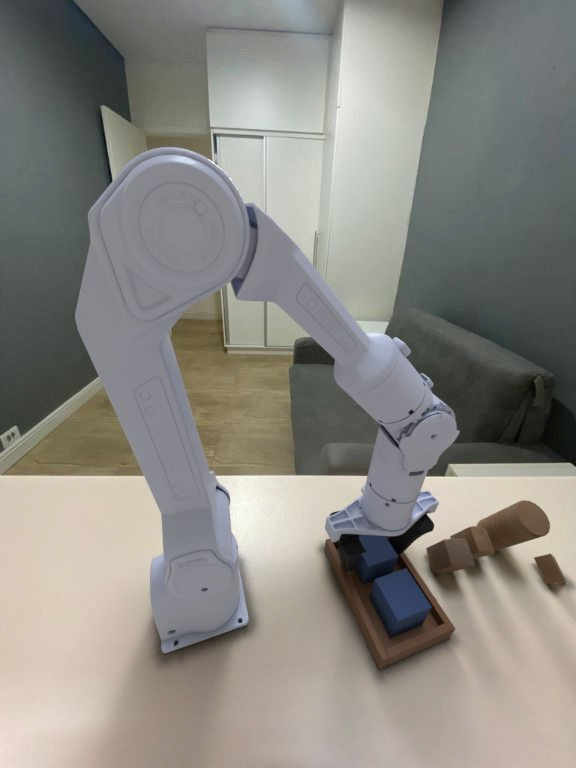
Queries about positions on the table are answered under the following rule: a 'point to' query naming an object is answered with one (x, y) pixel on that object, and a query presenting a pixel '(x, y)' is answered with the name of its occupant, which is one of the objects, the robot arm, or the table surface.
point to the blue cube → (399, 602)
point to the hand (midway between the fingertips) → (371, 555)
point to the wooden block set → (496, 540)
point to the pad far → (375, 558)
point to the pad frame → (370, 623)
